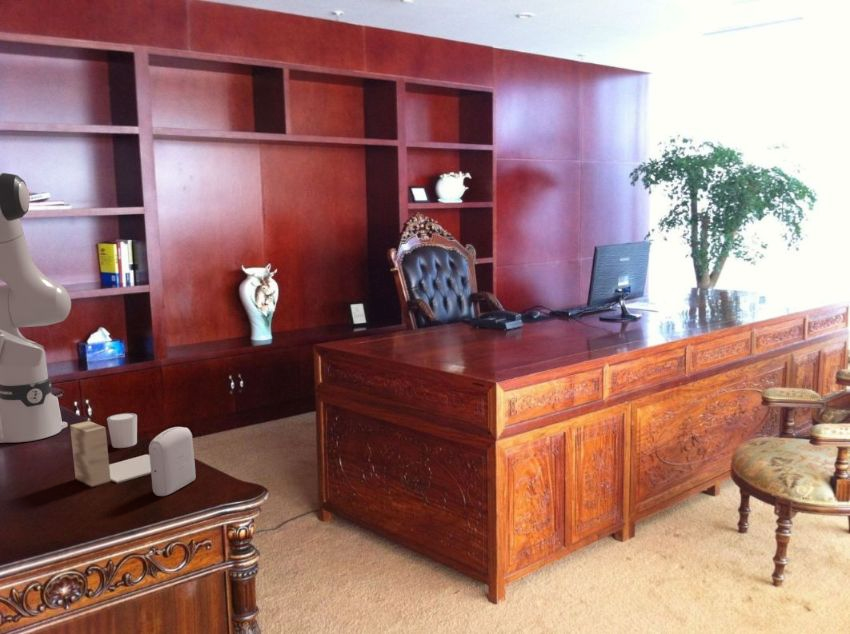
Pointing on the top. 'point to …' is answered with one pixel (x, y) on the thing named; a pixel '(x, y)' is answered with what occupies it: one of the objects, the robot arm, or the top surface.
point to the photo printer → (172, 460)
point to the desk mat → (130, 468)
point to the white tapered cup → (123, 430)
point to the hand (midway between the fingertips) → (39, 348)
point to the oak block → (90, 453)
